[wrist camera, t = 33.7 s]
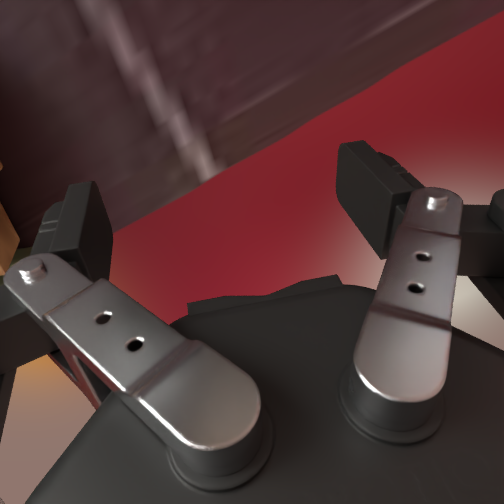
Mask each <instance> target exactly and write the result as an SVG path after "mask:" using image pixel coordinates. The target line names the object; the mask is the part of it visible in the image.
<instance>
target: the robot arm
mask: <svg viewBox="0 0 504 504" xmlns="http://www.w3.org/2000/svg"><path fill="white" fill-rule="evenodd" d="M336 194H337V198H338V201H339V202H340V204H341V206H342V207H343V208H344V210H345V211H346V212H347V214H348V215H349V217H350V218H351V219H352V221H353V222H354V223H355V225H356V226H357V227H358V229H359V230H360V232H361V233H362V234H363V236H364V237H365V238H366V240H367V241H368V243H369V244H370V245H371V247H372V248H373V250H374V251H375V252H376V254H377V255H378V256H379V258H380V259H381V260H382V259H387V260H386V263H385V266H384V269H383V272H382V275H381V278H380V281H379V284H378V287H377V290H374V289H370V288H367V287H362V286H356V285H343V284H342V282H341V281H340V279H339V277H338V275H337V274H336V275H331V276H326V277H321V278H315V279H310V280H305V281H301V282H298V283H296V284H293V285H291V286H289V287H286V288H284V289H281V290H279V291H276V292H274V293H271V294H269V295H264V296H222V297H217V298H212V299H207V300H201V301H196V302H191V303H187V307H188V315H186V316H184V317H182V318H180V319H178V320H176V321H174V322H173V323H171V324H170V325H168V324H166V323H165V322H164V321H162V320H161V319H159V318H158V317H157V316H155V315H154V314H153V313H151V312H150V311H149V310H147V309H146V308H145V307H143V306H142V305H140V304H139V303H138V302H136V301H135V300H134V299H132V298H131V297H130V296H128V295H127V294H126V293H124V292H123V291H121V290H120V289H118V288H117V287H116V286H115V285H113V284H112V283H111V282H109V274H110V264H111V255H112V246H113V234H112V228H111V224H110V221H109V218H108V215H107V212H106V209H105V206H104V203H103V201H102V198H101V195H100V192H99V189H98V186H97V184H96V183H95V181H90V182H83V183H77V184H70V185H69V186H68V189H67V193H66V196H65V199H64V201H62V202H56V203H54V204H53V205H52V206H51V207H50V208H49V209H48V210H47V211H46V212H45V214H44V217H43V219H42V222H41V224H42V225H40V228H39V230H38V232H39V233H37V236H36V239H35V242H34V244H33V247H32V250H31V253H30V255H29V256H28V257H26V258H23V259H21V260H20V261H18V262H16V263H15V264H13V265H12V266H11V267H10V268H9V269H8V270H7V271H6V273H5V275H4V277H3V282H4V284H3V285H1V286H0V442H1V437H2V433H3V428H4V423H5V419H6V415H7V410H8V406H9V401H10V397H11V392H12V388H13V383H14V379H15V374H16V369H17V367H19V366H22V365H24V364H26V363H28V362H30V361H33V360H35V359H37V358H39V357H42V356H44V355H46V354H47V355H48V356H49V357H50V358H51V359H52V360H53V361H54V363H55V364H56V365H57V366H58V367H59V368H60V369H61V370H62V371H63V372H64V373H65V374H66V375H67V376H68V377H69V378H70V380H71V381H72V382H73V383H74V384H75V385H76V386H77V387H78V388H79V389H80V390H81V391H82V392H83V394H84V395H85V396H86V397H87V398H88V400H89V401H90V403H91V404H92V406H93V407H94V408H95V409H96V412H95V413H94V414H93V415H92V417H91V418H90V419H89V420H88V422H87V423H86V424H85V426H84V427H83V428H82V429H81V431H80V432H79V433H78V434H77V436H76V437H75V438H74V440H73V441H72V442H71V443H70V445H69V446H68V447H67V449H66V450H65V451H64V453H63V454H62V455H61V456H60V458H59V459H58V460H57V462H56V463H55V464H54V465H53V467H52V468H51V469H50V470H49V472H48V473H47V474H46V475H45V477H44V478H43V479H42V481H41V482H40V483H39V484H38V486H37V487H36V488H35V490H34V491H33V492H32V494H31V495H30V497H29V498H28V499H27V501H26V502H25V504H504V351H503V350H501V349H499V348H497V347H495V346H493V345H491V344H489V343H487V342H484V341H482V340H480V339H478V338H476V337H474V336H472V335H470V334H468V333H466V332H464V331H462V330H460V329H457V328H455V327H453V326H451V316H452V308H453V300H454V293H455V285H456V278H457V275H460V276H468V277H469V279H470V280H471V281H472V282H473V284H474V285H475V286H476V287H477V288H478V290H479V291H480V292H481V293H482V294H483V296H484V297H485V298H486V299H487V300H488V301H489V303H490V304H491V305H492V306H493V307H494V308H495V310H496V311H497V312H498V313H499V314H500V316H501V317H502V318H503V319H504V189H502V190H499V191H497V192H495V193H494V195H493V197H492V200H491V203H490V205H464V204H463V200H462V199H461V197H460V196H459V195H457V194H456V193H454V192H452V191H449V190H446V189H442V188H436V187H424V185H422V184H421V183H420V182H419V181H418V180H417V179H416V178H414V177H413V176H412V175H411V174H410V173H407V170H406V169H405V168H403V167H401V165H400V164H399V163H398V162H397V161H396V160H395V159H394V158H392V157H390V156H387V155H385V154H383V153H380V152H378V153H377V152H376V151H375V150H374V149H373V148H372V147H371V146H370V145H368V144H367V143H366V142H365V141H364V140H361V141H354V142H348V143H342V144H341V145H340V146H339V150H338V162H337V176H336ZM0 504H5V503H4V501H3V500H2V499H1V498H0Z"/></svg>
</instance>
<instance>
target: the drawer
mask: <svg viewBox="0 0 504 504" xmlns="http://www.w3.org/2000/svg"><path fill="white" fill-rule="evenodd" d="M19 241H20V239H19V237H18V235H17V233H16V231H15V229H14V227H13V225H12V224H11V222H10V220H9V218H8V216H7V214H6V212H5V210H4V208H3V207H2V205H1V203H0V286H1V285H3V284H4V282H3V277H4V275H5V273H6V271H7V270H8V269H9V268H10V267H11V266H12V265H13V264H15V263H16V262H18V261H20V260H21V259H23V258H26V257H28V256H29V255H30V253H31V250H32V247H28V248H22V249H17V246H18V244H19Z"/></svg>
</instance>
